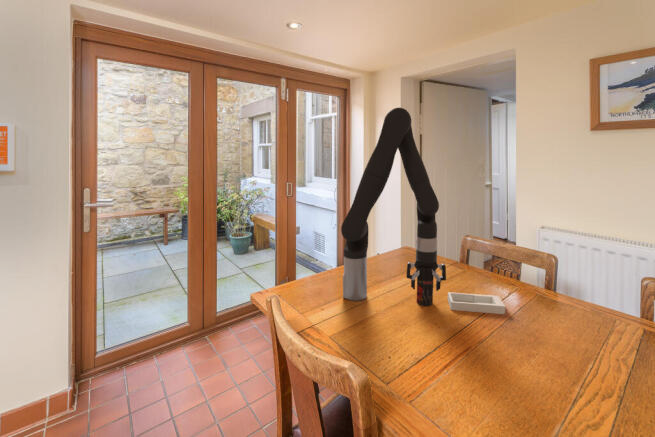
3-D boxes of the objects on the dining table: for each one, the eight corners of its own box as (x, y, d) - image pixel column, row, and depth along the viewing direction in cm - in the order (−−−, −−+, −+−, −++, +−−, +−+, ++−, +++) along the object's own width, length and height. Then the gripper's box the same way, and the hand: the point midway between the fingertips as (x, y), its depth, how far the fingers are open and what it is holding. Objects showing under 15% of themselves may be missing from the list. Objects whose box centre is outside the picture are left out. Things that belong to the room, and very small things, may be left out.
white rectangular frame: (450, 309, 116) (451, 302, 116) (447, 299, 125) (447, 292, 124) (504, 314, 112) (505, 306, 112) (497, 303, 121) (498, 295, 120)
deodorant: (434, 306, 120) (436, 268, 117) (418, 306, 120) (419, 268, 117) (429, 299, 125) (431, 263, 123) (414, 299, 126) (415, 263, 123)
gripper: (406, 250, 117) (406, 292, 119) (448, 252, 113) (446, 294, 116) (406, 245, 124) (406, 284, 127) (445, 246, 120) (444, 286, 123)
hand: (425, 289), depth 121 cm, fingers open, 8 cm apart
